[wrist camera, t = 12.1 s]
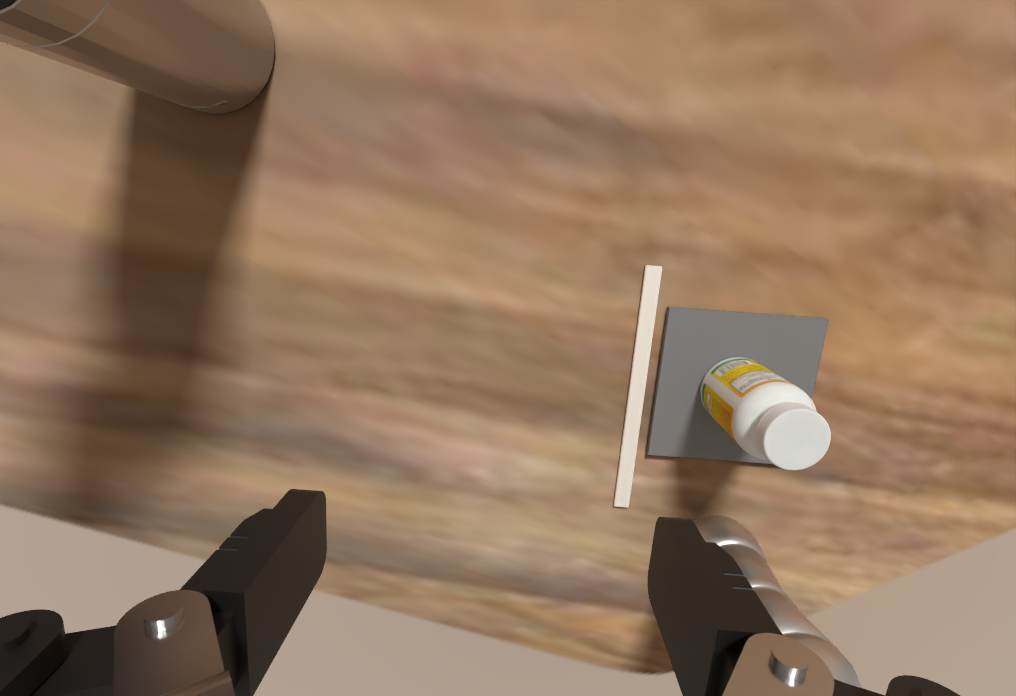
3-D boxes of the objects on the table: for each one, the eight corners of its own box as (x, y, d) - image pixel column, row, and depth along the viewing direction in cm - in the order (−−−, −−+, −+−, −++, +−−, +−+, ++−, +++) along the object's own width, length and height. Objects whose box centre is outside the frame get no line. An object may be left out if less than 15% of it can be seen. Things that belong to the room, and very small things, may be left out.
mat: (667, 306, 39) (669, 307, 39) (824, 318, 39) (829, 319, 39) (646, 451, 42) (648, 454, 41) (792, 462, 42) (796, 465, 41)
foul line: (645, 265, 38) (646, 265, 38) (661, 266, 38) (662, 266, 38) (613, 504, 43) (614, 506, 43) (627, 505, 43) (628, 507, 43)
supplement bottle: (721, 344, 39) (785, 382, 30) (781, 374, 40) (862, 421, 30) (685, 403, 40) (735, 458, 31) (743, 432, 41) (810, 494, 31)
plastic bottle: (652, 531, 44) (760, 778, 24) (723, 490, 43) (894, 714, 23) (691, 585, 45) (823, 862, 25) (760, 547, 44) (952, 805, 24)
